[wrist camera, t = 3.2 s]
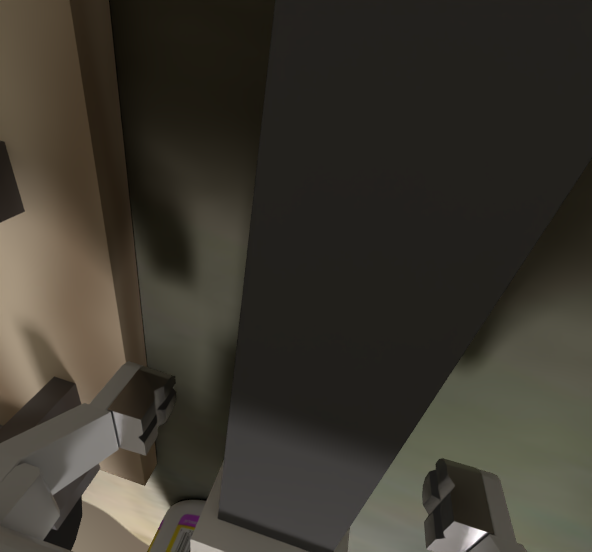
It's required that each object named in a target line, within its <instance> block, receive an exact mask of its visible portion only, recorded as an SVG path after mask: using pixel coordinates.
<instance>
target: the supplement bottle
mask: <svg viewBox="0 0 592 552" xmlns="http://www.w3.org/2000/svg"><path fill="white" fill-rule="evenodd" d="M205 503H206V501H204V500H185V501H181V502H178V503H176V504H174V505H173V506H171V507H170V508H169V510H168V511H167V513H166V515H165V516H164V518H163V520H162V522H161V524H160V526H159V528H158V530H157V532H156V534H155V536H154V539H153V541H152V543H151V545H150V547H149V549H148V551H147V552H190V540H191V537H192V534H193V532H194V529H195V527H196V525H197V522H198V520H199V517H200V515H201V513H202V510H203V508H204V505H205Z"/></svg>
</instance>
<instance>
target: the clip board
mask: <svg viewBox="0 0 592 552" xmlns="http://www.w3.org/2000/svg"><path fill="white" fill-rule="evenodd" d="M128 361H130V362H133V363H136V364H139V365H143V366H145V367H147V362H146V352H145V342H144V333H143V323H142V314H141V304H140V294H139V285H138V275H137V266H136V256H135V247H134V237H133V227H132V218H131V208H130V199H129V189H128V179H127V170H126V160H125V151H124V141H123V131H122V122H121V112H120V103H119V93H118V84H117V74H116V64H115V55H114V45H113V36H112V26H111V16H110V7H109V0H0V443H2V442H4V441H6V440H8V439H10V438H12V437H14V436H17V435H19V434H21V433H23V432H25V431H27V430H29V429H31V428H33V427H35V426H37V425H39V424H42V423H44V422H46V421H48V420H50V419H52V418H54V417H56V416H58V415H60V414H62V413H64V412H67V411H69V410H71V409H73V408H75V407H77V406H79V405H81V404H83V403H86V404H90V402H91V401H92V400H93V399H94V398H95V397H96V395H97V394H98V393H99V392H100V391H101V390H102V388H103V387H104V386H105V385H106V384H107V383H108V381H109V380H110V379H111V378H112V377H113V375H114V374H115V373H116V372H117V371H118V370H119V368H120V367H121V366H122V365H123V364H125V363H126V362H128ZM118 448H119V447H118ZM156 465H157V457H156V448H155V441H154V443H153V445H152V446H151V448H150V450H149V451H148V453H147V455H146V456H145V455H142V454H139V453H135V452H132V451H129V450H125V449H122V448H119V450H117V451H116V452H114V453H113V454H111V455H110V456H109V457H107V458H106V459H104V460H103V461H101V462H100V463H98V464H97V465H96V466H94V467H93V468H91V469H90V470H88V471H87V472H85V473H84V474H83V475H81V476H80V477H78V478H77V479H75V480H74V481H72V482H71V483H70V484H68V485H67V486H65V487H64V488H62V489H61V490H59V491H58V492H57V493H55V494H54V495H53V497H54V499H55V501H56V504H57V506H58V508H59V510H60V517H59V518H58V519H57V521H56V522H55V524H54V525H53V527H52V529H54V530H58V528H59V527H60V526H61V524H62V523H63V521H64V520H65V518H66V517H67V516H68V514H69V513H70V511H71V510H72V508H73V507H74V505H75V504H76V503H77V501H78V500H79V498H80V497H81V495H82V494H83V493H84V491H85V490H86V488H87V487H88V485H89V484H90V483H91V481H92V480H93V478H94V477H95V475H96V474H97V472H98V471H99V470H102V471H105V472H108V473H110V474H113V475H116V476H119V477H122V478H124V479H127V480H130V481H133V482H136V483H139V484H141V485H144V486H145V485H146V483H147V481H148V479H149V478H150V476H151V474H152V472H153V471H154V469H155V467H156Z"/></svg>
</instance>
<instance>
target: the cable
mask: <svg viewBox="0 0 592 552" xmlns="http://www.w3.org/2000/svg"><path fill="white" fill-rule="evenodd" d="M81 518H82V496H81V497H80V498H79V500H78V501H77V503H76V504H75V505H74V507H73V508H72V510H71V511H70V513H69V514H68V516H67V517H66V518H65V520H64V521H63V523H62V524H61V526H60V527H59V528H58V530H54V529H52V528H51V530H50V531H49V532H48V534H47V535H46V537H45V538H44V540H43V541H45V542H48V543H51V544H53V545H56V546H59V547H61V548H64V549H67V550H70V551H71V549H72V547H73V545H74V542H75V540H76V536H77V533H78V529H79V525H80V522H81Z"/></svg>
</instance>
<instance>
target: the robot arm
mask: <svg viewBox="0 0 592 552" xmlns="http://www.w3.org/2000/svg"><path fill="white" fill-rule="evenodd" d="M175 384H176V379H175V376H173V375H170V374H167V373H164V372H161V371H158V370H154V369H151V368H148V367H145V366H143V365H139V364H136V363H133V362H130V361H128V362H126V363H125V364H123V365H122V366H121V367H120V368H119V370H118V371H117V372H116V373H115V374H114V375H113V377H112V378H111V379H110V380H109V381H108V383H107V384H106V385H105V386H104V387H103V388H102V390H101V391H100V392H99V393H98V394H97V395H96V397H95V398H94V399H93V400H92V401H91V402H90V404H86V403H83V404H81V405H79V406H77V407H75V408H73V409H71V410H69V411H67V412H64V413H62V414H60V415H58V416H56V417H54V418H52V419H50V420H48V421H46V422H44V423H42V424H39V425H37V426H35V427H33V428H31V429H29V430H27V431H25V432H23V433H21V434H19V435H17V436H14V437H12V438H10V439H8V440H6V441H4V442H2V443H0V552H72V551H70V550H67V549H64V548H61V547H59V546H56V545H53V544H51V543H48V542H45V541H43V540H44V538H45V537H46V535H47V534H48V532H49V531H50V530H51V528H52V527H53V525H54V524H55V522H56V521H57V519H58V518H59V517H60V510H59V508H58V506H57V504H56V501H55V499H54V497H53V495H54V494H55V493H57V492H58V491H59V490H61V489H62V488H64V487H65V486H67V485H68V484H70V483H71V482H72V481H74V480H75V479H77V478H78V477H80V476H81V475H83V474H84V473H85V472H87V471H88V470H90V469H91V468H93V467H94V466H96V465H97V464H98V463H100V462H101V461H103V460H104V459H106V458H107V457H109V456H110V455H111V454H113V453H114V452H116V451H117V450H119V448H122V449H125V450H129V451H132V452H135V453H139V454H142V455H145V456H146V455H147V453H148V451H149V450H150V448H151V446H152V445H153V443H154V441H155V440H156V438H157V436H158V426H160V425H162V424H164V423H165V422H166V421H167V420H168V418H169V416H170V415H171V413H172V410H173V408H174V405H175V401H176V391H175V390H174V389H173V387H174V385H175ZM118 447H119V448H118ZM422 498H423V506H424V507H425V509H426V511H427V512H428V514H429V516H428V517H427V519H426V520H425V521H424V527H425V540H426V549H428V550H431V551H433V552H527V551H526V549H525V548H524V546H523V545H521V544H519V543H517V542H516V538H515V535H514V531H513V527H512V523H511V519H510V516H509V512H508V508H507V504H506V500H505V497H504V493H503V489H502V485H501V481H500V479H499V478H498V476H497V475H495V474H493V473H490V472H486V471H483V470H479V469H477V468H474V467H471V466H467V465H464V464H461V463H457V462H454V461H450V460H447V459H443V458H442V459H439V460H438V461H437V462H436V470H433V471H430V472H429V473H428V474H427V476H426V477H425V481H424V484H423V492H422Z"/></svg>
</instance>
